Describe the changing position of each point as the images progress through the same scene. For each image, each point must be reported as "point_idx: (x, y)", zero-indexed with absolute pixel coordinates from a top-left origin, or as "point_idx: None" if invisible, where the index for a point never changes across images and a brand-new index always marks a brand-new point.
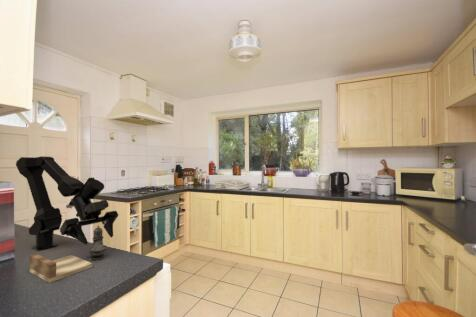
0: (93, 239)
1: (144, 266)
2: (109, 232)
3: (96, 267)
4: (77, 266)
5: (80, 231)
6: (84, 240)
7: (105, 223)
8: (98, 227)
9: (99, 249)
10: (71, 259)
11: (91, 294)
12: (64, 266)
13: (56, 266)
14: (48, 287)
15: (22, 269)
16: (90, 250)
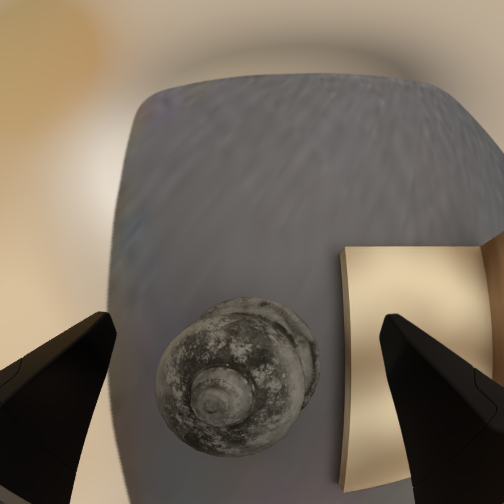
0: (304, 364)
1: (206, 91)
2: (86, 371)
3: (329, 230)
4: (409, 275)
5: (498, 402)
6: (420, 333)
7: (27, 499)
8: (221, 384)
9: (265, 312)
10: (384, 419)
11: (399, 90)
12: (443, 337)
13: None
14: (485, 222)
15: None
16: (314, 361)
